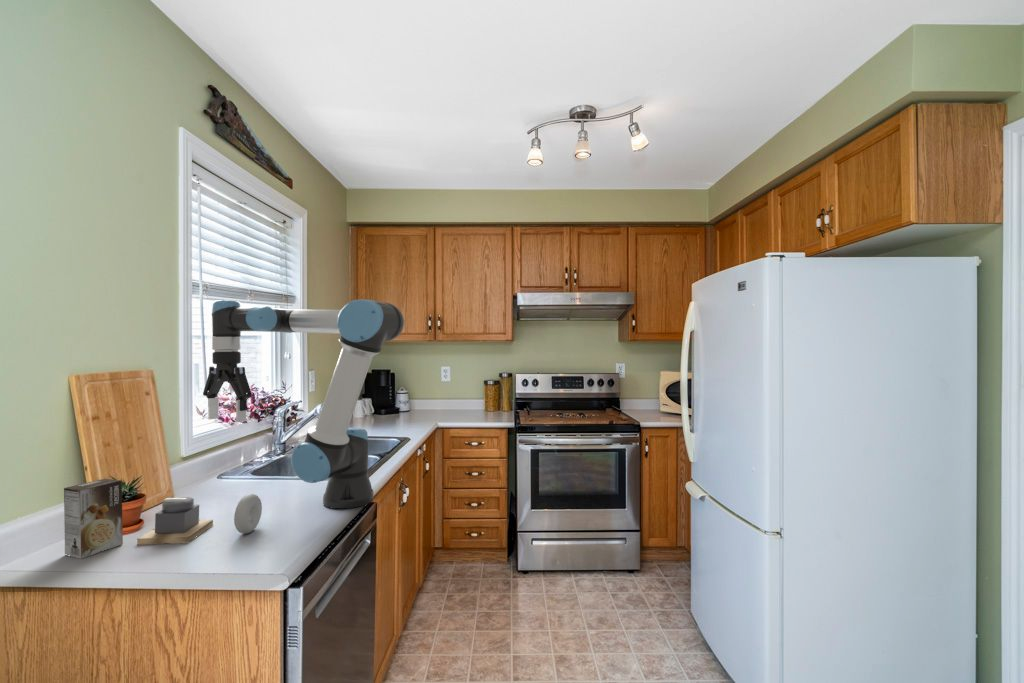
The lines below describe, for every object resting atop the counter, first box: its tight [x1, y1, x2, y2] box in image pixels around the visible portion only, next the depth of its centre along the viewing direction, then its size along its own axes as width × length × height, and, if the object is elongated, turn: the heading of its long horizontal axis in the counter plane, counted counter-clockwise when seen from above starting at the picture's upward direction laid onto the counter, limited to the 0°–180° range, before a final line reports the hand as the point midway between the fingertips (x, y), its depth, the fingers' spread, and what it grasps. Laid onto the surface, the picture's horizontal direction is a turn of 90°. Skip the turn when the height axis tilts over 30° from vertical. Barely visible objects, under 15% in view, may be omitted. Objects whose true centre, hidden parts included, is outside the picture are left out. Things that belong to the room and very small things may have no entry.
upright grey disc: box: [233, 493, 263, 535], centre depth 130 cm, size 10×4×10 cm, turn 0°
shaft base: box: [136, 519, 214, 546], centre depth 129 cm, size 12×12×6 cm
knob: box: [154, 496, 200, 533], centre depth 129 cm, size 7×7×8 cm
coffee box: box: [63, 478, 124, 559], centre depth 119 cm, size 9×6×16 cm
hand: (227, 420), depth 151 cm, fingers open, 13 cm apart
